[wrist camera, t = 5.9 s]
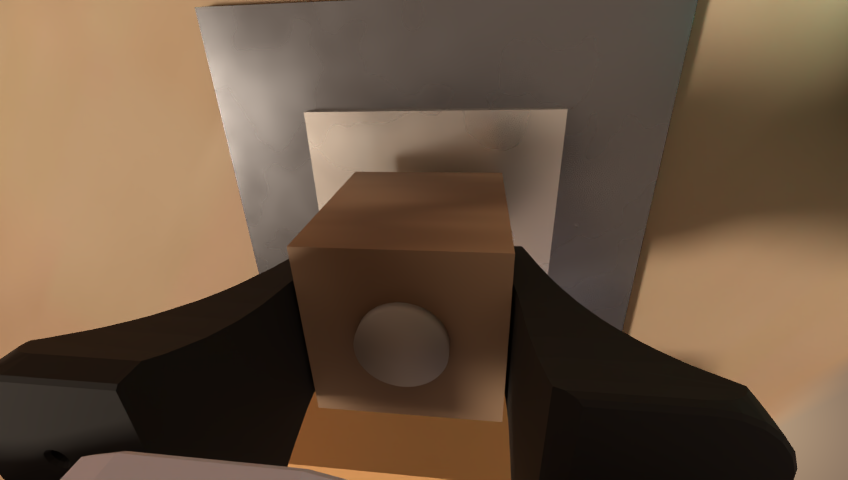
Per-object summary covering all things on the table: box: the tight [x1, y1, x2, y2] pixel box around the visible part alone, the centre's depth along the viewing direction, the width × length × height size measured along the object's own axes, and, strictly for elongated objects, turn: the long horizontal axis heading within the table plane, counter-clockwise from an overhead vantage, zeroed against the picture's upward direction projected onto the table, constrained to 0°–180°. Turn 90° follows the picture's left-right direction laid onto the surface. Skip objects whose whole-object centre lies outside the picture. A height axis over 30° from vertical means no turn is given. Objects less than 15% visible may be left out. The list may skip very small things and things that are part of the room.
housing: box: [287, 172, 515, 422], centre depth 11 cm, size 4×4×5 cm
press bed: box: [195, 0, 698, 331], centre depth 15 cm, size 14×18×3 cm
